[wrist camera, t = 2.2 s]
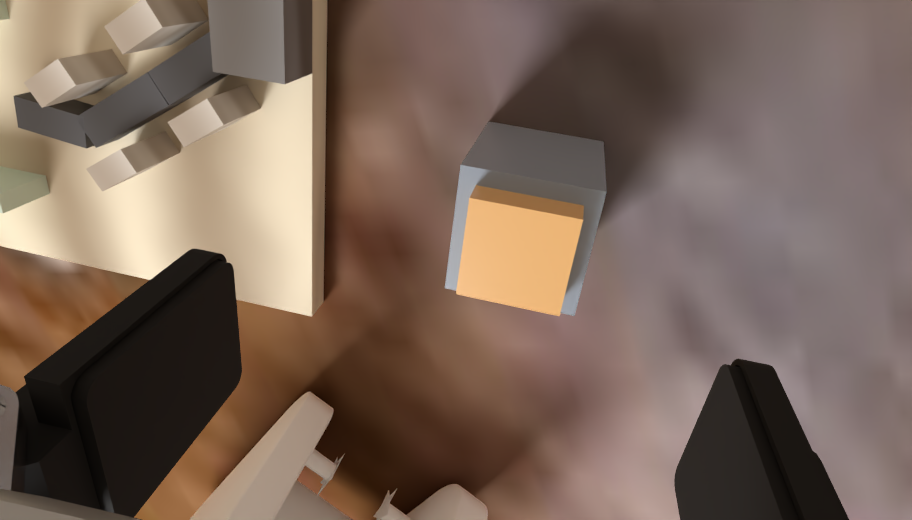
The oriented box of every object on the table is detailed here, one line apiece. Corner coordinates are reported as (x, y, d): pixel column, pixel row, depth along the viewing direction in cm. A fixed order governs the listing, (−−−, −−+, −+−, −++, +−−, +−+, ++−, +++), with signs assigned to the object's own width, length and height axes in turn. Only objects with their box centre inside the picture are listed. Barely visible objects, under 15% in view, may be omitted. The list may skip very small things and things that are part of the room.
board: (328, -64, 19) (274, -69, 16) (323, 302, 25) (285, 349, 22) (-191, -136, 21) (-327, -153, 18) (-71, 214, 28) (-156, 246, 25)
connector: (603, 141, 20) (607, 205, 15) (577, 245, 22) (573, 334, 17) (489, 121, 20) (452, 176, 15) (473, 224, 22) (437, 305, 17)
